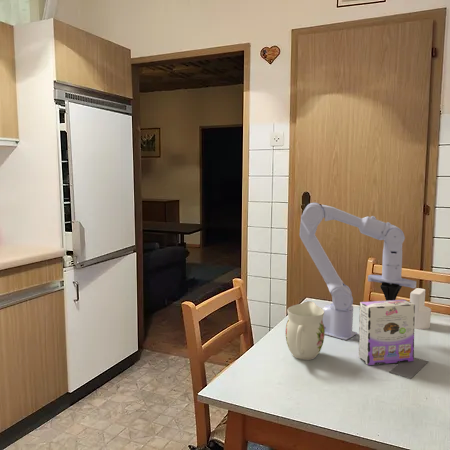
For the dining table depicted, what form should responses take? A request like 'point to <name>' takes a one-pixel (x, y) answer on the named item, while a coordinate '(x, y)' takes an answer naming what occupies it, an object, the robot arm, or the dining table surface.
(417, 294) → the base with upright slab
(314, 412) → the dining table surface
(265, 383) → the dining table surface
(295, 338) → the pitcher
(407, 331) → the candy box
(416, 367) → the mat
